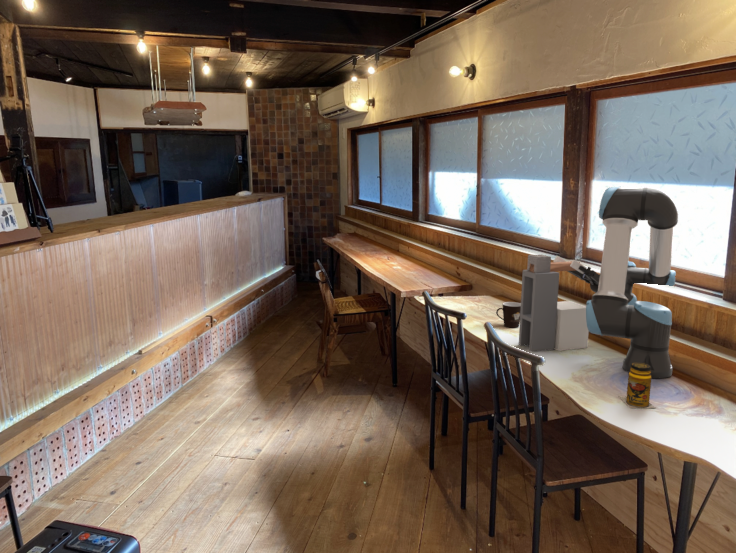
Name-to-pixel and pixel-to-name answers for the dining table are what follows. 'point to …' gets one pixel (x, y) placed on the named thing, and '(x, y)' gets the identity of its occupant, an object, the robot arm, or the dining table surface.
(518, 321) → the coffee mug
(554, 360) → the dining table surface
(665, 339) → the robot arm
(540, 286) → the stand
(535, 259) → the grey mallet
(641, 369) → the condiment
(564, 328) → the block
